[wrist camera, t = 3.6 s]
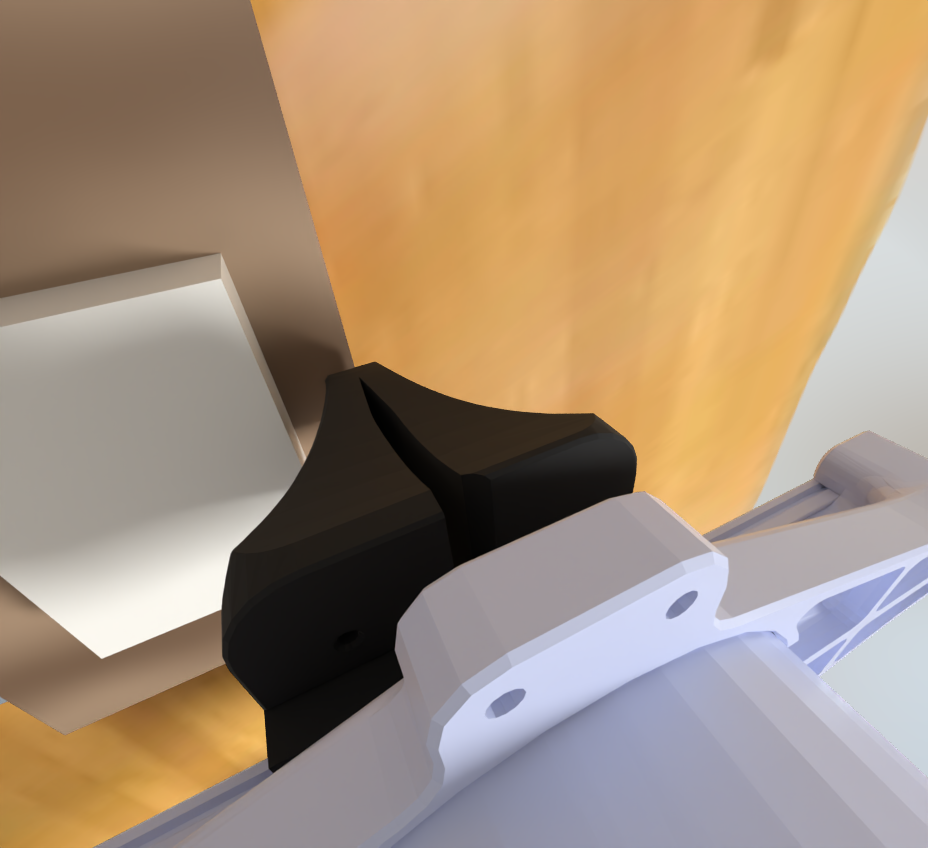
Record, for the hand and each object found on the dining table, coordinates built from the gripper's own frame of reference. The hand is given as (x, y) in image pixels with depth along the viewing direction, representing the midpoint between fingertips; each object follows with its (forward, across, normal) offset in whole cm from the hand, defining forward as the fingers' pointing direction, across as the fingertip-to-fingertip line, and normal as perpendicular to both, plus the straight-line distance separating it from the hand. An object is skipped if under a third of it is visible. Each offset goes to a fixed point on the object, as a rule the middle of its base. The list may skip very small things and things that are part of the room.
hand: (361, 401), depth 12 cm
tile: (+1, +5, 0) cm, 5 cm away
